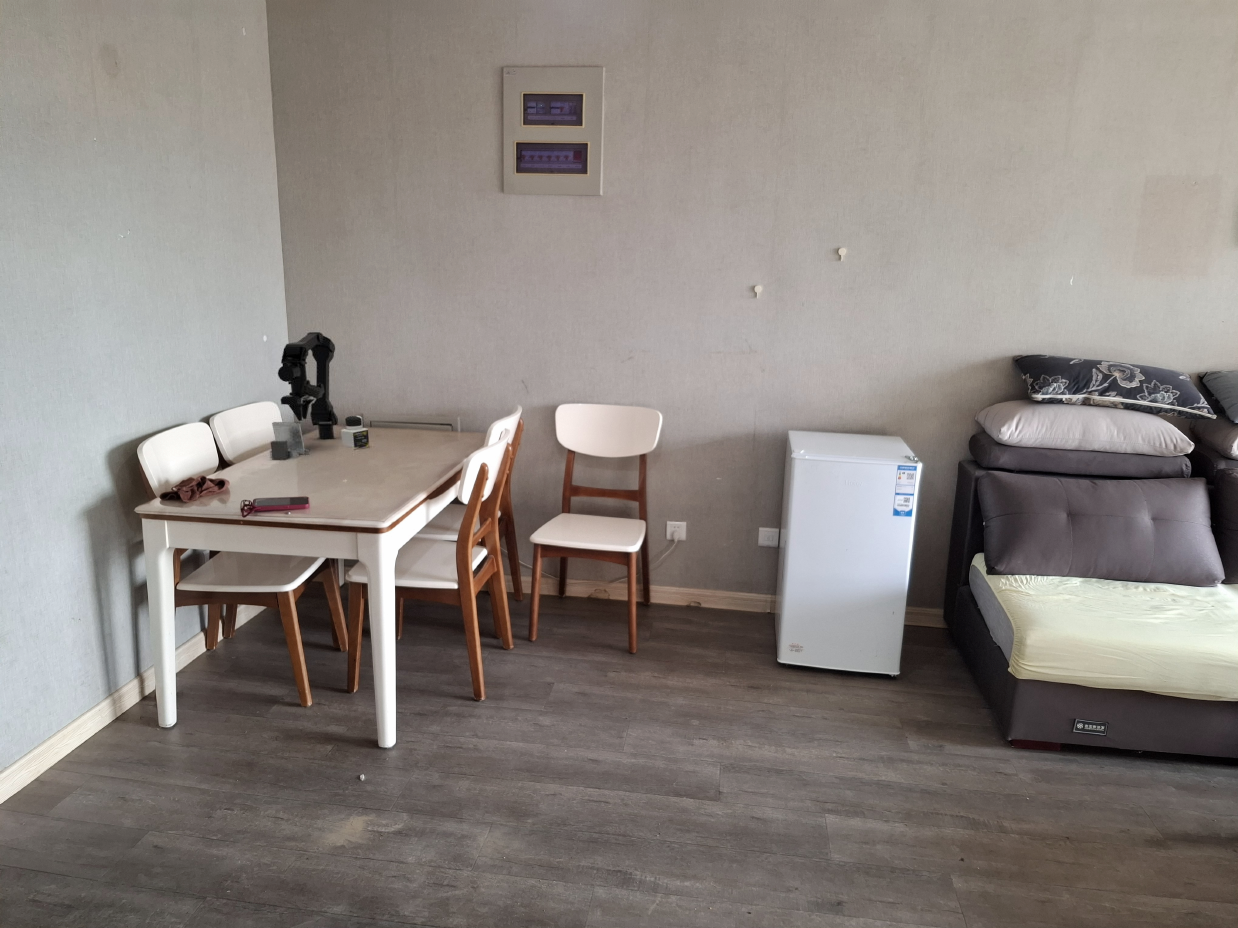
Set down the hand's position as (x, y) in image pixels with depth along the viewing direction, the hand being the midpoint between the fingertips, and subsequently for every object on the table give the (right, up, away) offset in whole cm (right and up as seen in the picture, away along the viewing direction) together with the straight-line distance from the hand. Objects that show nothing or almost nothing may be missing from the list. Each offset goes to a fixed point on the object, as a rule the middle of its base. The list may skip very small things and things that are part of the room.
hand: (302, 419), depth 308 cm
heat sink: (-2, -14, -10) cm, 17 cm away
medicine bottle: (+17, -10, +9) cm, 22 cm away
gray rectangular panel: (-2, -7, -8) cm, 11 cm away
